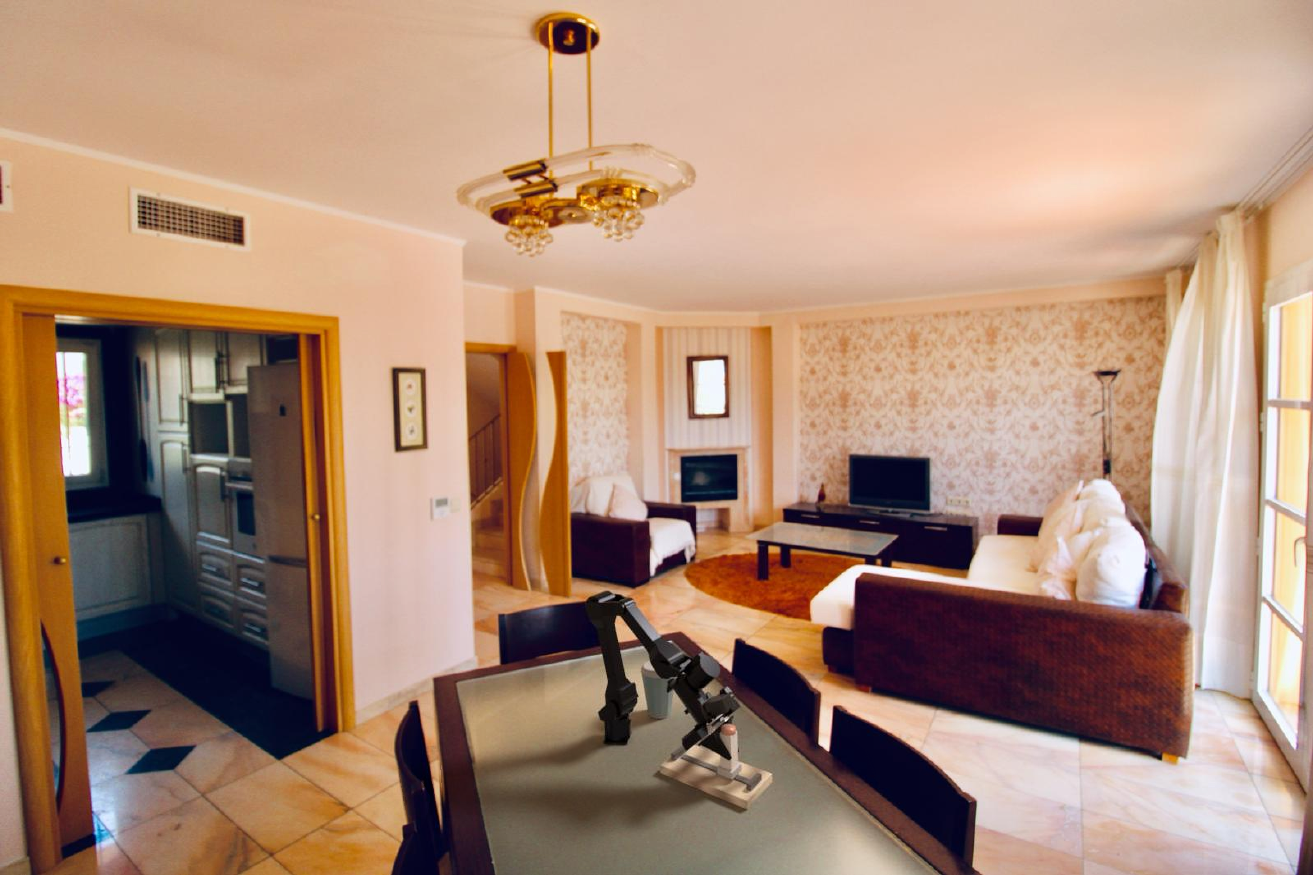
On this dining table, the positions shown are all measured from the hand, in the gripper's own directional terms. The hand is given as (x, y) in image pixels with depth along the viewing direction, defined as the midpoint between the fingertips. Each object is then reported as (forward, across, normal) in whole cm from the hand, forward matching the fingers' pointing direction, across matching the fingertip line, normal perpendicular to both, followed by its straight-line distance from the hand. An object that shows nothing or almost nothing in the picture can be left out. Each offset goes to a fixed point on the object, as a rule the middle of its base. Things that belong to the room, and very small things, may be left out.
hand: (734, 756), depth 145 cm
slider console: (+1, 0, +9) cm, 9 cm away
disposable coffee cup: (-19, +17, +30) cm, 39 cm away
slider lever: (+2, 0, +4) cm, 5 cm away
